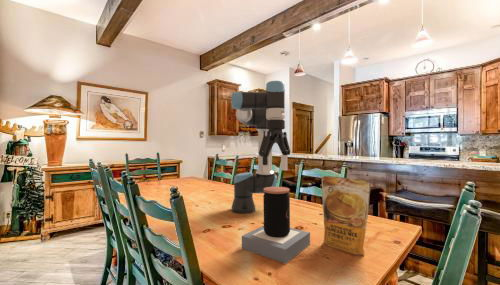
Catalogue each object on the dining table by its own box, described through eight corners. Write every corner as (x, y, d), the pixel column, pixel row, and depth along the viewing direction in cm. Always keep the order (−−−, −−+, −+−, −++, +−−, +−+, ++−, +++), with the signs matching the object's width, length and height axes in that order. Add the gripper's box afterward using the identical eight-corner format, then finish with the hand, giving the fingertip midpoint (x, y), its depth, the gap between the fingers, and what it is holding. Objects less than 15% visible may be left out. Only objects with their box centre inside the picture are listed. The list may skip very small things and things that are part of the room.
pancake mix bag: (325, 239, 104) (324, 174, 104) (372, 253, 90) (371, 179, 90) (317, 243, 99) (317, 176, 99) (365, 259, 85) (365, 181, 86)
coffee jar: (292, 238, 91) (291, 191, 91) (264, 238, 92) (263, 191, 92) (288, 228, 102) (287, 186, 102) (263, 228, 102) (262, 186, 102)
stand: (241, 248, 95) (241, 235, 95) (269, 233, 110) (269, 222, 110) (285, 263, 82) (285, 248, 82) (310, 244, 98) (309, 231, 98)
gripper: (265, 116, 85) (266, 175, 85) (297, 121, 104) (298, 169, 104) (249, 117, 89) (249, 174, 89) (283, 122, 109) (283, 168, 109)
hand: (275, 171), depth 97 cm, fingers open, 13 cm apart
